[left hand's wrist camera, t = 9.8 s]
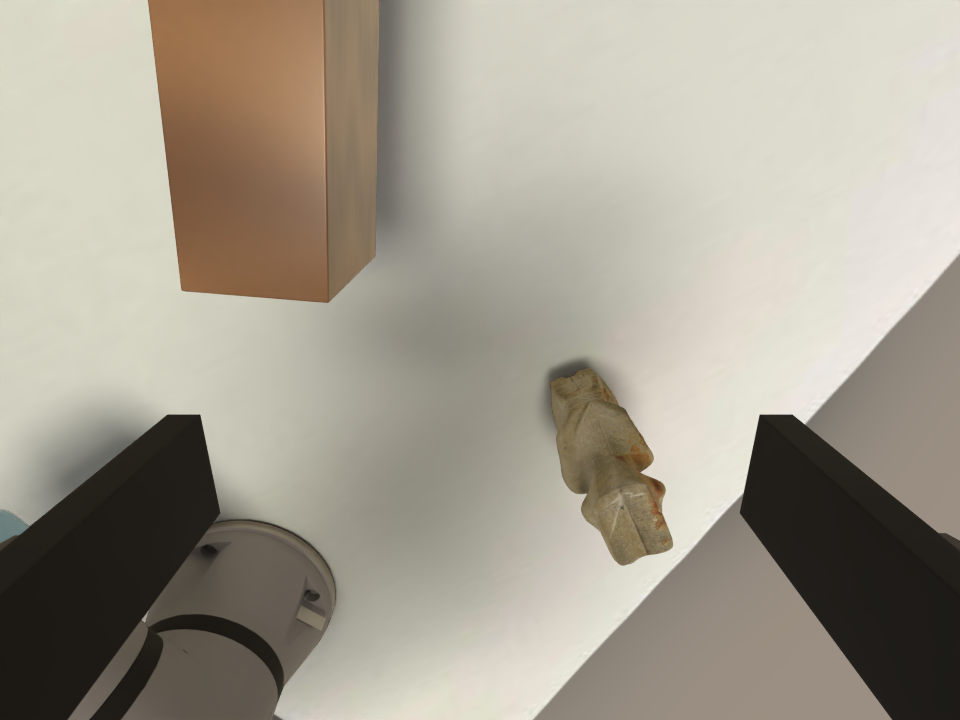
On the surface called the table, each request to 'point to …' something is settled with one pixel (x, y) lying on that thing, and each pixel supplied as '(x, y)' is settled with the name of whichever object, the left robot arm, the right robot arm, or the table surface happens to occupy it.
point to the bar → (270, 142)
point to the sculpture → (608, 467)
